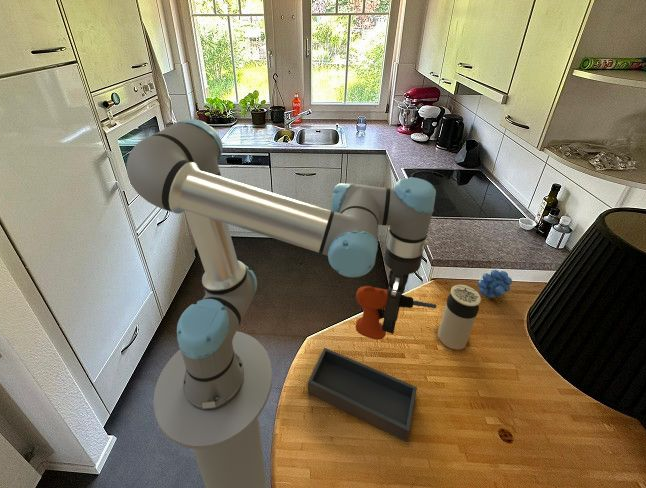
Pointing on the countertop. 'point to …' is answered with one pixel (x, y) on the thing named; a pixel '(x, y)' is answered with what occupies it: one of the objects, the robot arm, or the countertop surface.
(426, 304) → the toy drill
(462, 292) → the travel mug
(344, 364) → the tray
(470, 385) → the countertop surface
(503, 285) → the grapes
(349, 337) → the countertop surface
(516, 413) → the countertop surface
